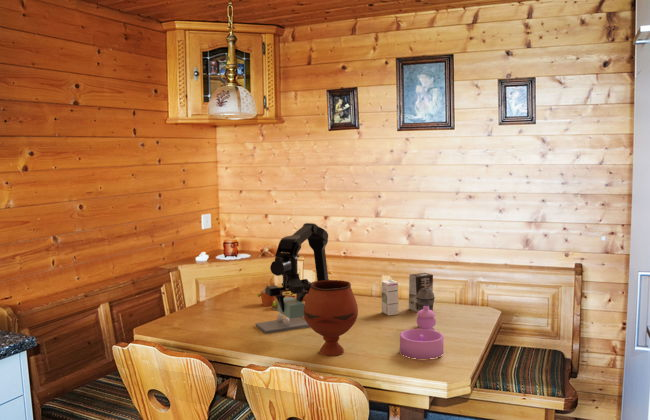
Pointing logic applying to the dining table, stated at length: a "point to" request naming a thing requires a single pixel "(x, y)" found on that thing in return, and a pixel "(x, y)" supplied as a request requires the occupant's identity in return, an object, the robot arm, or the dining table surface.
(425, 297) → the beverage cup
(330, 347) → the goblet
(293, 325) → the plate
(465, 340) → the dining table surface
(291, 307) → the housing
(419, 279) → the coffee box
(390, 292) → the syrup box
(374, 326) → the dining table surface
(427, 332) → the container set
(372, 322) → the dining table surface
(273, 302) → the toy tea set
